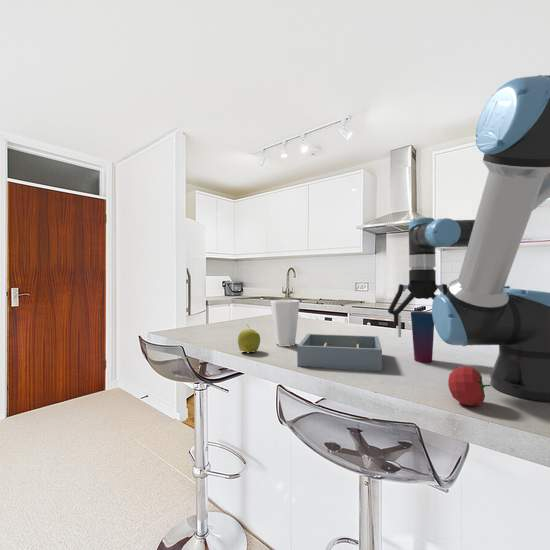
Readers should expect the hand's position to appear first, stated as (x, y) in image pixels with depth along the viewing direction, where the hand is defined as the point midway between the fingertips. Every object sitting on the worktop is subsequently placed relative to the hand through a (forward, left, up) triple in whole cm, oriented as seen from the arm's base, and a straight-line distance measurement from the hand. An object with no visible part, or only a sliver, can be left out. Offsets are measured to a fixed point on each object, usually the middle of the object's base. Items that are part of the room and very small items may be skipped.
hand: (422, 337), depth 102 cm
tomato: (-34, -3, -8) cm, 35 cm away
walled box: (-4, +25, -7) cm, 26 cm away
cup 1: (+14, +47, -8) cm, 49 cm away
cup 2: (0, 0, -8) cm, 8 cm away
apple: (0, +57, -8) cm, 57 cm away
